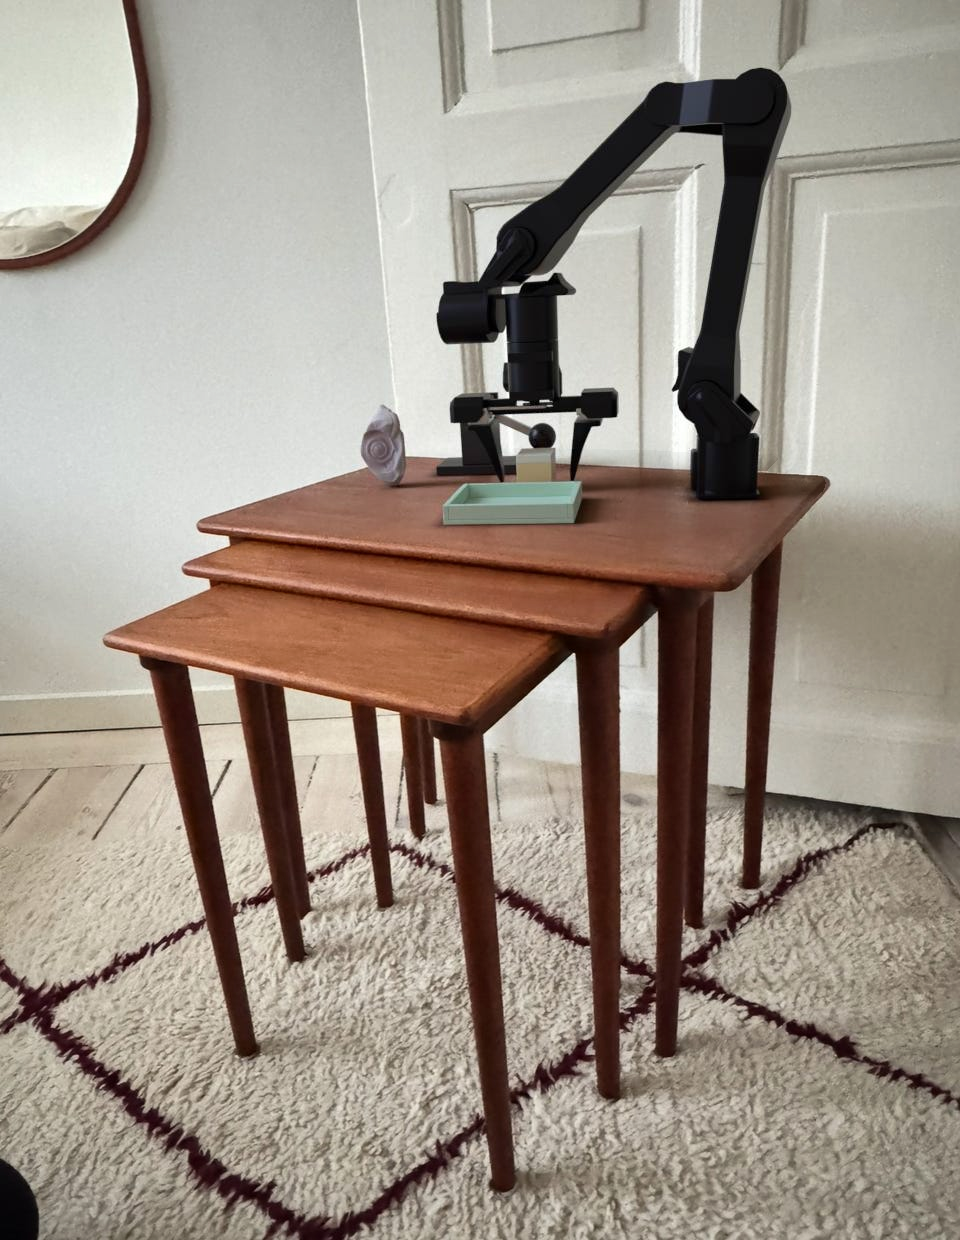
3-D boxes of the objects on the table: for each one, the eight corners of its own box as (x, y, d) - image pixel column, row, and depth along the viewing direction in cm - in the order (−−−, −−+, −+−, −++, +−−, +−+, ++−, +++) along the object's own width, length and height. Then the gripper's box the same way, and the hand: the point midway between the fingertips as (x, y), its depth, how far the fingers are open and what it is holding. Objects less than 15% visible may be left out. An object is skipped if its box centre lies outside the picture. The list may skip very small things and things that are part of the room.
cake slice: (556, 485, 106) (555, 447, 105) (552, 494, 101) (551, 454, 100) (523, 486, 107) (521, 448, 105) (517, 494, 102) (515, 455, 101)
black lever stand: (526, 464, 121) (524, 390, 118) (519, 473, 115) (516, 395, 111) (448, 466, 123) (443, 393, 120) (436, 475, 117) (431, 399, 113)
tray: (582, 499, 98) (581, 481, 97) (573, 523, 88) (573, 503, 87) (464, 501, 101) (463, 483, 100) (443, 524, 90) (442, 505, 90)
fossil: (361, 488, 111) (353, 407, 108) (374, 483, 114) (367, 403, 111) (403, 489, 109) (395, 406, 105) (415, 484, 112) (409, 402, 108)
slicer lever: (550, 453, 118) (561, 427, 117) (547, 457, 115) (559, 431, 113) (467, 415, 118) (477, 390, 117) (461, 419, 115) (472, 392, 114)
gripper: (619, 333, 104) (620, 466, 110) (464, 341, 108) (471, 470, 113) (616, 338, 94) (617, 484, 99) (444, 347, 97) (453, 488, 103)
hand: (537, 481), depth 104 cm, fingers open, 8 cm apart
